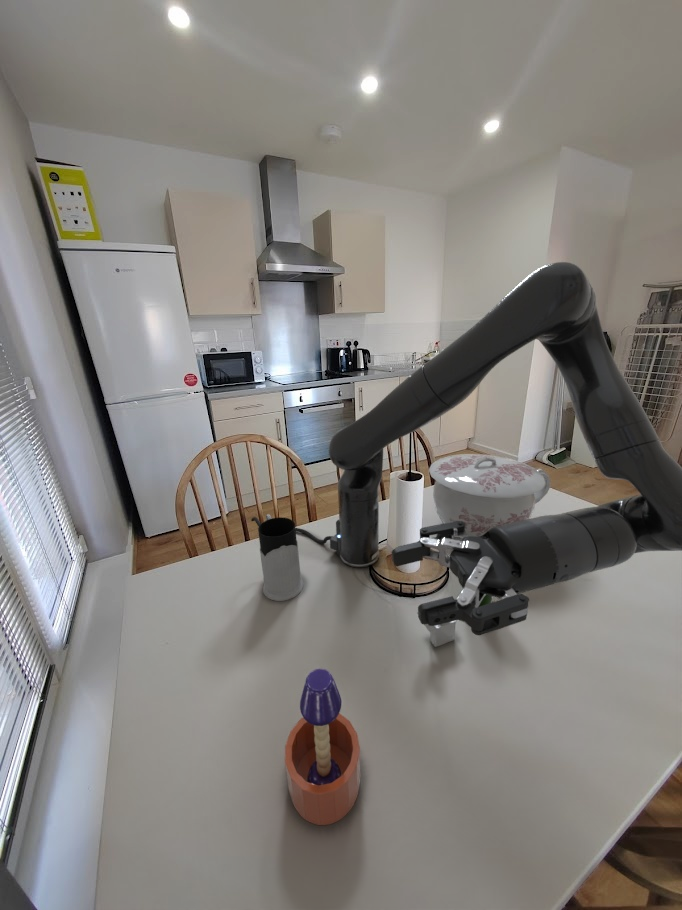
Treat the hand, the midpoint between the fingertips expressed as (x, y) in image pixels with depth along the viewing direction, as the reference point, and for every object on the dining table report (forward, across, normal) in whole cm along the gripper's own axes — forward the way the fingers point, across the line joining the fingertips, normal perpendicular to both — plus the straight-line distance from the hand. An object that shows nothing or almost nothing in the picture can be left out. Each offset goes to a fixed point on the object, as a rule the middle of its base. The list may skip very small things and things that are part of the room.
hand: (404, 584), depth 40 cm
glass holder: (+18, -34, +27) cm, 48 cm away
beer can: (-20, -18, +30) cm, 40 cm away
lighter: (-8, -11, +28) cm, 31 cm away
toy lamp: (+13, +5, +24) cm, 28 cm away
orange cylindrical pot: (+13, +5, +24) cm, 28 cm away
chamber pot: (-35, -42, +34) cm, 64 cm away
